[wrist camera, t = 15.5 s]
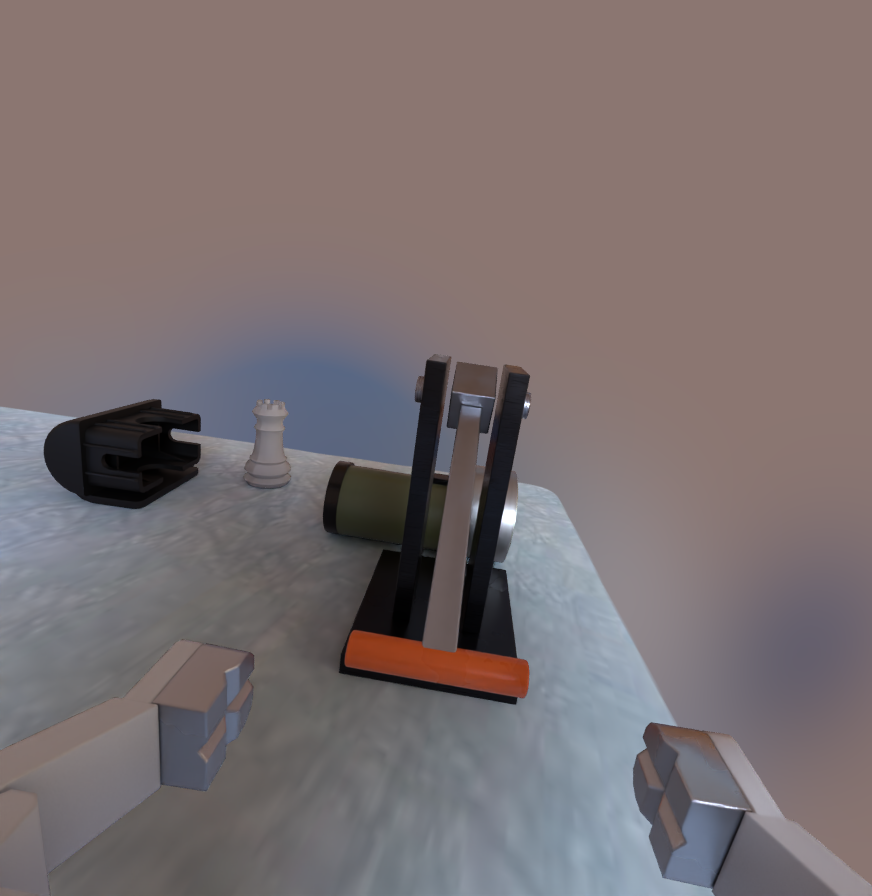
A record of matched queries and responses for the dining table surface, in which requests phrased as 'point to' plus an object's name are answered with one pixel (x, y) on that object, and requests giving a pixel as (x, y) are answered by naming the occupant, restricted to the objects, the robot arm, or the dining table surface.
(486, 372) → the switch lever
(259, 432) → the rook chess piece
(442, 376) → the black lever stand
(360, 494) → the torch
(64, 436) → the end cap
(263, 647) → the dining table surface
